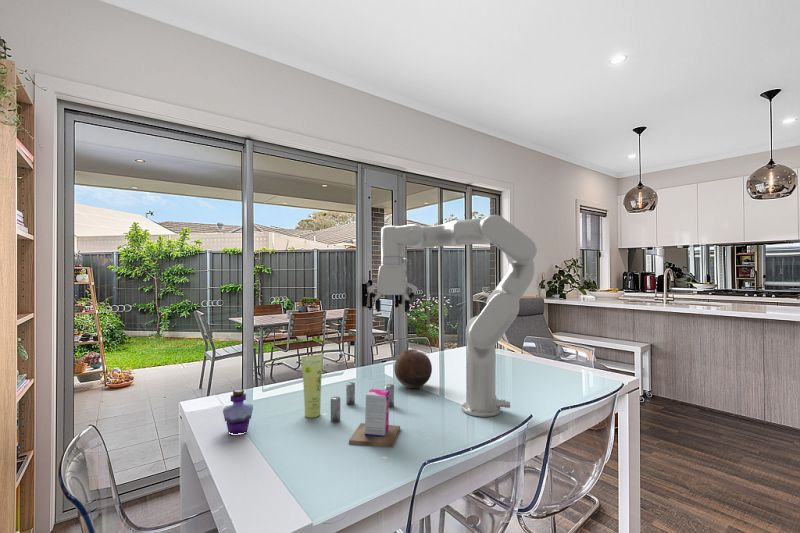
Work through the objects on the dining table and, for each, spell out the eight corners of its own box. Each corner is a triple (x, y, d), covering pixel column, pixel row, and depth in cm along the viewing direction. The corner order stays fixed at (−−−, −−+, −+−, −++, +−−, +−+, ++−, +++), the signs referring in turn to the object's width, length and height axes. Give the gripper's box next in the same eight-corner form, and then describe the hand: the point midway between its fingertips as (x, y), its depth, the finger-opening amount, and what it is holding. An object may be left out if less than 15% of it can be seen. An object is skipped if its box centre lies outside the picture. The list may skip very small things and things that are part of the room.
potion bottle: (230, 425, 119) (230, 386, 119) (258, 426, 119) (258, 386, 119) (216, 438, 111) (216, 395, 111) (246, 438, 110) (246, 395, 110)
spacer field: (394, 404, 138) (394, 384, 138) (383, 425, 119) (383, 402, 119) (347, 401, 141) (347, 382, 141) (329, 422, 122) (329, 399, 122)
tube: (314, 419, 124) (314, 357, 124) (300, 417, 126) (300, 356, 126) (323, 413, 130) (323, 353, 130) (309, 411, 131) (309, 352, 131)
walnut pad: (400, 429, 117) (400, 425, 117) (392, 447, 105) (392, 443, 105) (360, 426, 119) (360, 423, 119) (348, 443, 107) (348, 440, 107)
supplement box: (385, 437, 109) (385, 395, 109) (364, 436, 110) (364, 394, 110) (389, 429, 114) (389, 389, 114) (369, 427, 115) (369, 388, 115)
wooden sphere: (439, 388, 157) (439, 350, 157) (408, 395, 148) (408, 355, 148) (416, 379, 169) (416, 344, 169) (387, 385, 160) (387, 348, 161)
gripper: (418, 261, 139) (418, 310, 138) (369, 262, 141) (370, 310, 141) (416, 261, 131) (416, 313, 131) (365, 262, 134) (365, 312, 134)
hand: (392, 311), depth 136 cm, fingers open, 9 cm apart
